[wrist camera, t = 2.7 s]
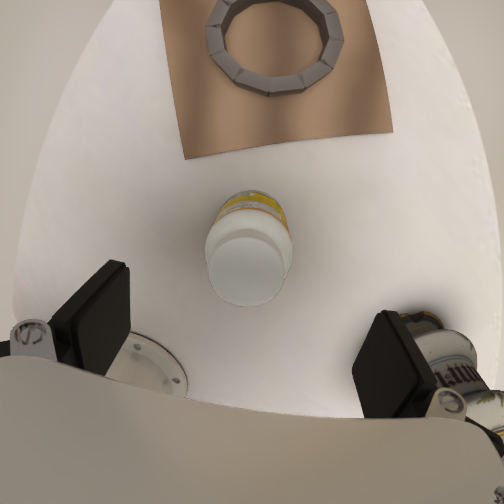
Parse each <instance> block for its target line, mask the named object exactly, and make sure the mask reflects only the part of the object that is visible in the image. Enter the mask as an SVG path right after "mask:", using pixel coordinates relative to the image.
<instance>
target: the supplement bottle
mask: <svg viewBox="0 0 504 504" xmlns="http://www.w3.org/2000/svg"><path fill="white" fill-rule="evenodd" d="M292 258H293V247H292V241H291V237H290V234H289V230H288V226H287V223H286V219H285V216H284V213H283V211H282V208H281V207H280V205H279V204H278V202H277V201H276V200H275V199H273V198H272V197H271V196H269V195H267V194H265V193H262V192H258V191H245V192H241V193H238V194H236V195H234V196H233V197H231V198H230V199H229V200H228V201H227V202H226V203H225V204H224V206H223V207H222V208H221V211H220V213H219V215H218V217H217V219H216V220H215V222H214V224H213V226H212V228H211V230H210V232H209V234H208V236H207V239H206V242H205V260H206V264H207V266H208V276H209V280H210V283H211V286H212V287H213V289H214V291H215V292H216V293H217V294H218V295H219V296H220V297H221V298H222V299H224V300H225V301H227V302H229V303H231V304H233V305H236V306H241V307H254V306H258V305H262V304H264V303H266V302H268V301H269V300H271V299H272V298H273V297H274V296H275V295H276V294H277V293H278V292H279V290H280V289H281V287H282V284H283V281H284V277H285V276H286V274H287V272H288V271H289V269H290V266H291V263H292Z"/></svg>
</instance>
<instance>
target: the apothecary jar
mask: <svg viewBox="0 0 504 504" xmlns="http://www.w3.org/2000/svg"><path fill="white" fill-rule="evenodd" d="M400 317H401V319H402V320H403V322H404V324H405V325H406V327H407V328H408V330H409V332H410V333H411V335H412V337H413V338H414V340H415V342H416V344H417V345H418V347H419V349H420V350H421V352H422V354H423V356H424V357H425V359H426V361H427V363H428V364H429V366H430V368H431V370H432V372H433V373H434V375H435V377H436V379H437V381H438V382H437V384H436V385H435V388H436V390H438V389H440V388H450V389H452V390H455V391H456V392H458V393H459V394H460V395H461V396H462V397H463V398H464V400H465V401H466V404H467V413H466V416H467V417H469V418H470V419H472V420H474V421H476V422H477V423H479V424H481V425H482V426H484V427H486V428H487V429H489V430H491V431H492V432H494V433H496V434H498V435H499V436H500V437H501V438H502V440H503V443H504V391H500V390H490V389H489V388H488V386H487V385H486V383H485V382H484V381H483V379H482V378H481V376H480V375H479V374H478V372H477V371H476V370H477V355H476V351H475V348H474V346H473V344H472V343H471V341H470V340H469V339H468V338H467V337H466V336H464V335H463V334H461V333H459V332H457V331H453V330H448V329H444V327H443V325H442V323H441V321H440V320H439V319H438V318H437V317H436V316H435V315H433V314H431V313H428V312H424V311H422V312H420V313H418V314H415V315H413V316H410V315H408V314H403V315H400Z"/></svg>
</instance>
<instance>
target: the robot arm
mask: <svg viewBox="0 0 504 504" xmlns="http://www.w3.org/2000/svg"><path fill="white" fill-rule="evenodd" d="M130 328H131V322H130V270H129V268H128V267H126V265H125V263H124V262H120V261H115V260H109V261H108V262H107V263H106V264H105V265H103V266H102V267H101V268H100V269H99V270H98V271H97V272H96V273H95V274H94V275H93V276H92V277H91V278H90V279H89V280H88V281H87V282H86V283H85V284H84V285H83V286H82V287H81V288H80V289H79V290H78V291H77V292H76V293H75V294H74V295H73V296H72V297H71V298H70V299H69V300H68V301H67V302H66V303H65V304H64V305H63V306H62V307H61V308H60V309H59V310H58V311H57V312H56V313H55V314H54V315H53V316H52V319H51V320H50V321H49V322H48V323H46V322H44V321H42V320H38V319H28V320H24V321H22V322H20V323H18V324H17V325H15V326H14V327H13V329H12V330H11V333H10V340H8V341H3V342H0V504H504V443H503V440H502V438H501V437H500V436H499V435H498V434H496V433H494V432H492V431H491V430H489V429H487V428H486V427H484V426H482V425H481V424H479V423H477V422H476V421H474V420H472V419H470V418H469V417H467V416H466V413H467V404H466V401H465V400H464V398H463V397H462V396H461V395H460V394H459V393H458V392H456V391H455V390H452V389H450V388H440V389H438V390H436V388H435V385H436V384H437V382H438V381H437V379H436V377H435V375H434V373H433V372H432V370H431V368H430V366H429V364H428V363H427V361H426V359H425V357H424V356H423V354H422V352H421V350H420V349H419V347H418V345H417V344H416V342H415V340H414V338H413V337H412V335H411V333H410V332H409V330H408V328H407V327H406V325H405V324H404V322H403V320H402V319H401V317H400V315H399V314H398V313H397V312H395V311H388V310H382V311H381V313H378V314H377V315H376V316H375V319H374V321H373V323H372V326H371V328H370V330H369V332H368V335H367V337H366V339H365V341H364V343H363V345H362V347H361V350H360V352H359V354H358V356H357V358H356V360H355V362H354V364H353V367H352V375H353V379H354V382H355V386H356V389H357V393H358V396H359V400H360V403H361V407H362V411H363V414H364V418H333V417H316V416H303V415H292V414H282V413H273V412H265V411H257V410H250V409H243V408H236V407H230V406H224V405H219V404H213V403H208V402H203V401H198V400H193V399H188V398H185V397H186V393H187V388H188V387H187V379H186V377H185V374H184V372H183V370H182V368H181V367H180V365H179V364H178V362H177V361H176V360H175V359H174V358H173V357H172V356H171V355H170V354H169V353H168V352H167V351H166V350H165V349H163V348H162V347H160V346H159V345H157V344H156V343H154V342H152V341H150V340H148V339H146V338H144V337H142V336H139V335H136V334H133V333H130Z"/></svg>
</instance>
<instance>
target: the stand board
mask: <svg viewBox="0 0 504 504" xmlns="http://www.w3.org/2000/svg"><path fill="white" fill-rule="evenodd" d="M159 2H160V10H161V18H162V26H163V33H164V40H165V47H166V54H167V60H168V67H169V73H170V79H171V85H172V91H173V97H174V103H175V109H176V115H177V120H178V126H179V131H180V137H181V142H182V147H183V152H184V158H185V160H186V159H191V158H196V157H201V156H206V155H211V154H216V153H221V152H227V151H232V150H238V149H244V148H250V147H256V146H262V145H269V144H276V143H283V142H291V141H299V140H307V139H316V138H325V137H335V136H347V135H359V134H375V133H393V126H392V119H391V112H390V105H389V99H388V93H387V87H386V81H385V76H384V71H383V66H382V61H381V57H380V52H379V48H378V44H377V40H376V35H375V32H374V28H373V24H372V20H371V17H370V13H369V10H368V6H367V3H366V0H159Z"/></svg>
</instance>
